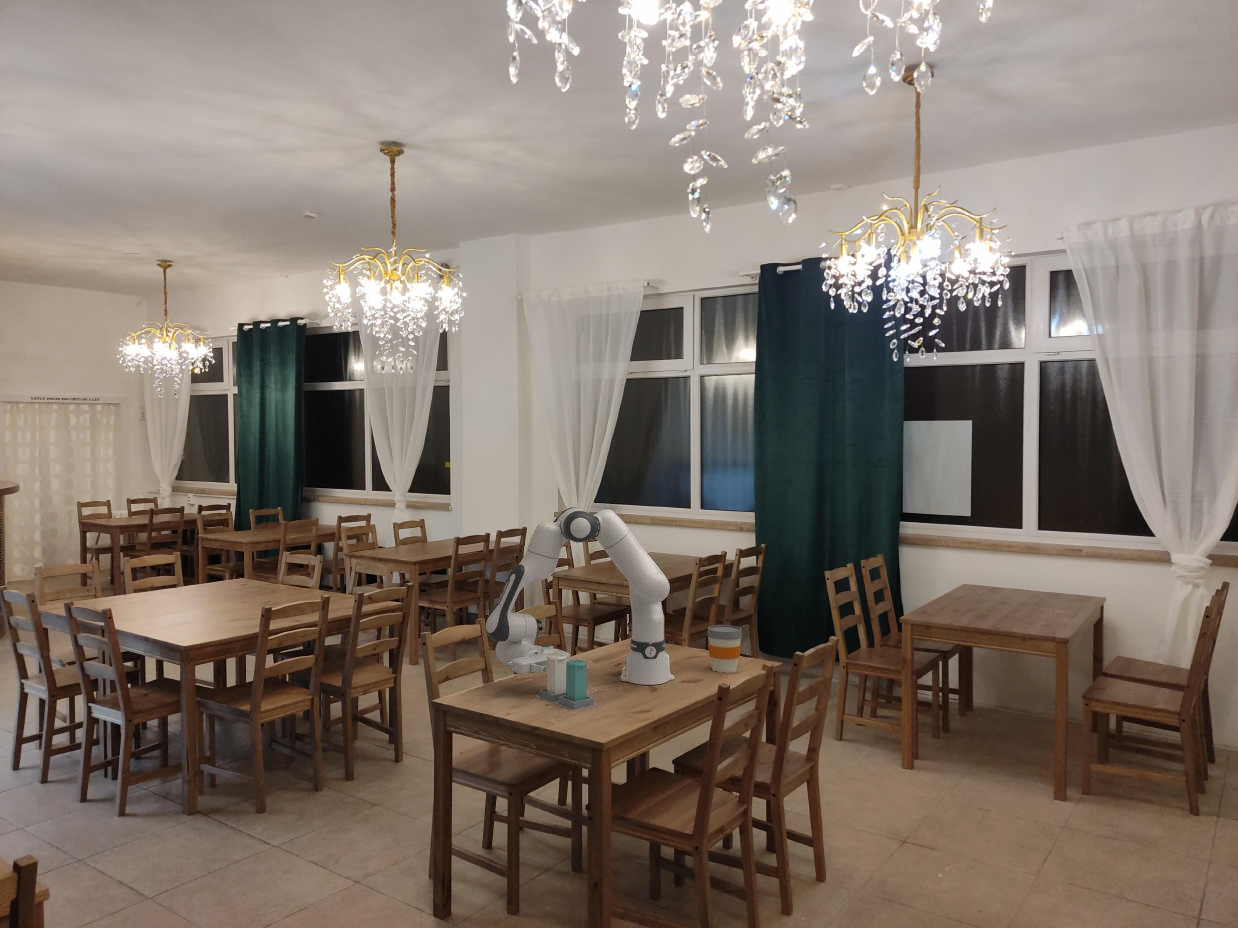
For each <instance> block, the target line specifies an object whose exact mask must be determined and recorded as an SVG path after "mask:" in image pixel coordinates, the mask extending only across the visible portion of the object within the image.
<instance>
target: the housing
mask: <svg viewBox="0 0 1238 928" xmlns="http://www.w3.org/2000/svg"><path fill="white" fill-rule="evenodd" d="M538 692H539V693H538V695H537V694H536V695H534V697H536V698H538V699H540V700H544V701H546V702H548V703H550V704H555V705H556V706H559V707H562V708H565V709H567V710H570V711H573V712H575V711H580V710H583V709H587V708H591V707H595V706H599V705H600V704H598V703H597V702H596V703H595V701H594V700H595V698H594V697H592V696H589V695H587V699H584V700H580V701H576V702H574V701H571V700H568V699H566V692H563V693H559V694H555V695H554V694H552V693H549V692H547V687H546V688H543V689H539V691H538Z"/></svg>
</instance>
